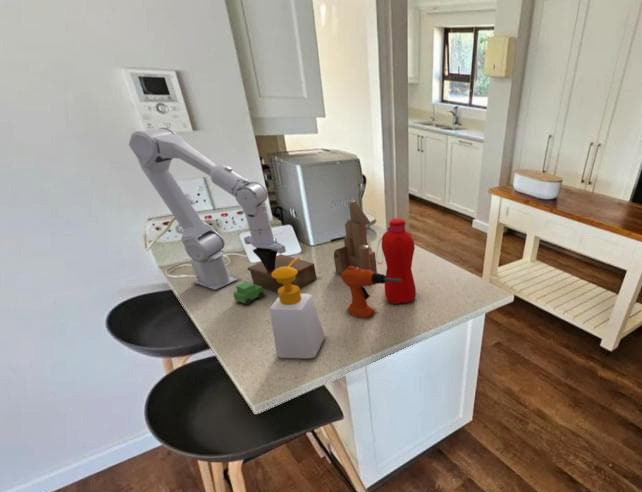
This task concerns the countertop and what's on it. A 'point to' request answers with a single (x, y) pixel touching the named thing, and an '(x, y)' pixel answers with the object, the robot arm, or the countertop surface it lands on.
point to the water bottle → (398, 262)
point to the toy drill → (362, 289)
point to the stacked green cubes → (248, 292)
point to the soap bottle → (294, 318)
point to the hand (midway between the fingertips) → (270, 269)
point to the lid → (281, 265)
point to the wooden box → (272, 283)
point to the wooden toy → (355, 244)
